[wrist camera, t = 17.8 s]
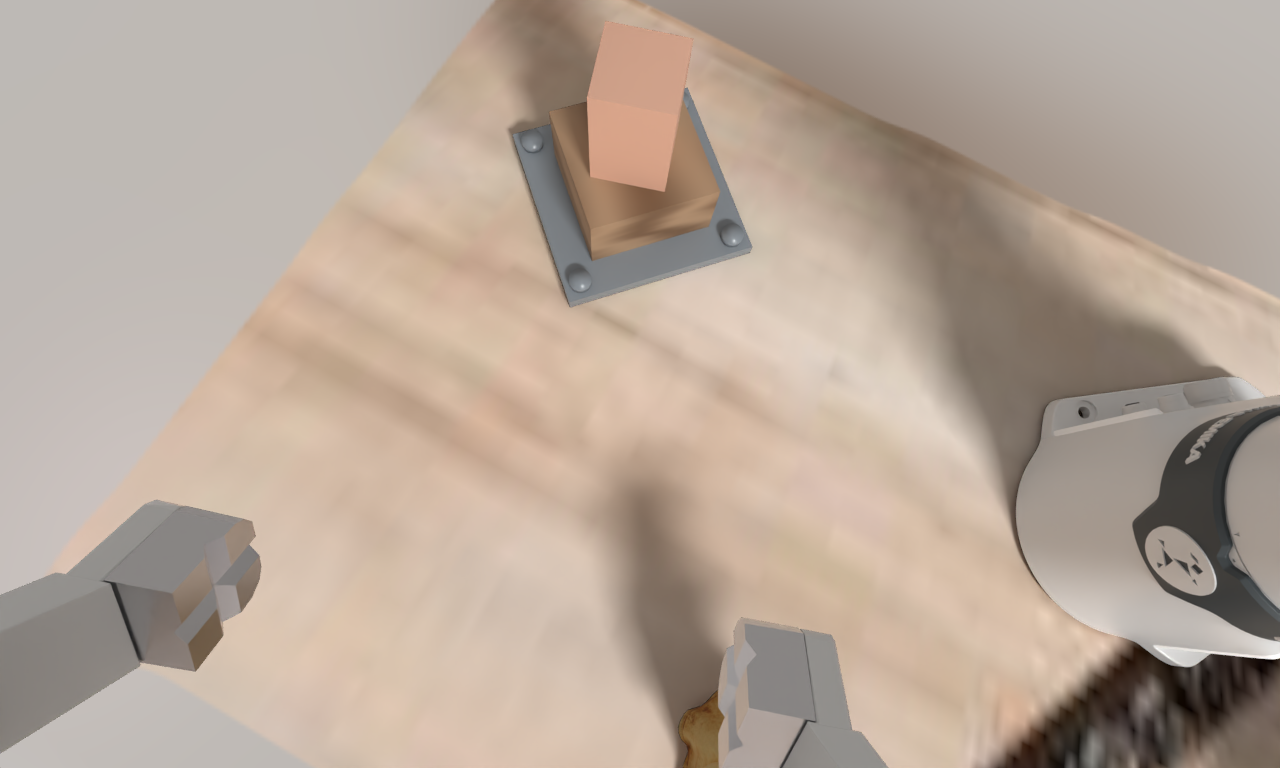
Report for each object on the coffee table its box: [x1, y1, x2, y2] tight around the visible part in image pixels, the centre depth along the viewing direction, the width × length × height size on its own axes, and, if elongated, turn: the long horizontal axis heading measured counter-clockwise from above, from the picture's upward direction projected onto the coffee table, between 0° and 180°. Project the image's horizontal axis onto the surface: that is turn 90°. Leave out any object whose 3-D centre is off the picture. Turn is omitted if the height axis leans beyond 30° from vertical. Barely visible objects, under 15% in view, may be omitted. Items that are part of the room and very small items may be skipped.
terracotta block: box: [587, 21, 693, 192], centre depth 40 cm, size 5×5×8 cm
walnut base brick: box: [549, 100, 720, 261], centre depth 46 cm, size 9×9×5 cm
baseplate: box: [513, 88, 752, 307], centre depth 49 cm, size 14×14×2 cm
